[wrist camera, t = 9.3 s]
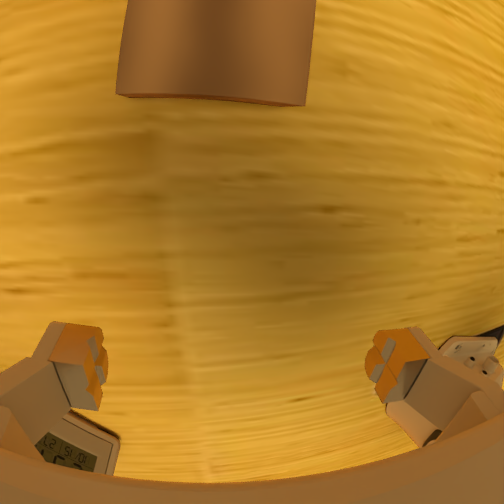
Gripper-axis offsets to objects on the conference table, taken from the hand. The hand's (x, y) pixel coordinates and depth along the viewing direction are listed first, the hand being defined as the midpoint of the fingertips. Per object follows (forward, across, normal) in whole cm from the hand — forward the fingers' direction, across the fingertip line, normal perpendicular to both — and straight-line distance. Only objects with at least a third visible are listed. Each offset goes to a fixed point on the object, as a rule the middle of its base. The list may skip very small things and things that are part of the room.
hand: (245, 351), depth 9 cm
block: (+15, +2, -12) cm, 19 cm away
